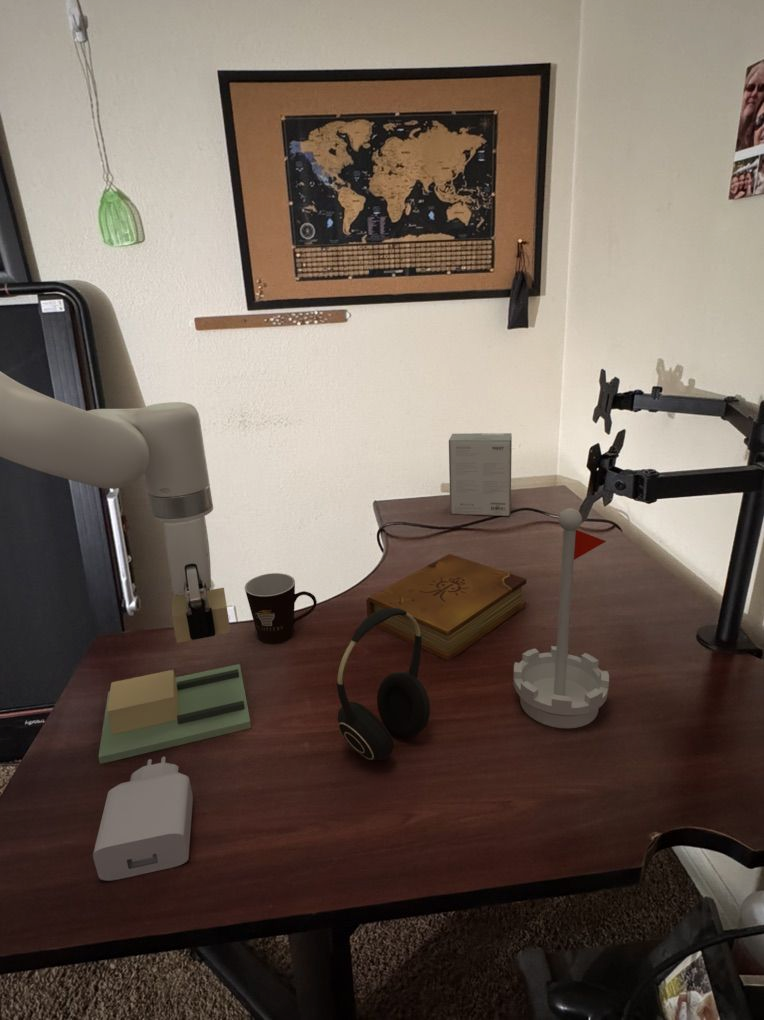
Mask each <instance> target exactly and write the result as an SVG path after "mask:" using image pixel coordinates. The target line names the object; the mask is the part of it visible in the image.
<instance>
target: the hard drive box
mask: <svg viewBox="0 0 764 1020" xmlns="http://www.w3.org/2000/svg"><path fill="white" fill-rule="evenodd" d="M512 436H513V435H512V433H511V432H495V433H493V432H490V433H488V432H485V433H484V432H479V433H478V432H477V433H475V432H474V433H452V434H451V435H450V437H449V439H448V466H449V467H448V468H449V469H448V470H449V514H450V515H464V516H466V515H467V516H468V515H471V516H475V515H476V516H492V517H493V516H494V517H499V516H500V517H510V516H511V512H512V511H511V510H512V452H513V451H512V445H513V444H512V440H513V439H512V438H513V437H512Z"/></svg>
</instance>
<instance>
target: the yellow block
mask: <svg viewBox="0 0 764 1020" xmlns="http://www.w3.org/2000/svg"><path fill="white" fill-rule="evenodd" d="M200 596H201V598H203V593H200ZM207 596H208V603H209V608H212V615H213V621H214V627H215V635H214V636H213V637H217V636H222V635H226V634H231V632H232V631H231V626H230V619H229V612H228V606H227V599H226V598H227V597H226V593H225V587H218V588H214V589H213V588H212V589H210V590H208V591H207ZM203 600H204V598H203ZM186 612H187V606H186V600H185V594H184V593H183V594H178V596H175V595H173V596H172V597H171V619H172V626H173V630H174V635H175V641H176V644H180V643H184V642H185V643H187V642H191V641H193V640H192V639H191V638H190V632H189V627H188V621H187V616H186Z"/></svg>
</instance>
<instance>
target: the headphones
mask: <svg viewBox="0 0 764 1020" xmlns="http://www.w3.org/2000/svg"><path fill="white" fill-rule="evenodd" d="M396 615H403V616H407V617H408V618H410V620H411V621H412V622H413V624H414V626H415V630H416V634H415V643H414V645H413V651H412V657H411V661H410V665H409V669H408V672H404V671H396V672H392V673H390V674H388V675H387V676H386V677H385V678H383V680H382V681H381V683H380V685H379V687H378V688H377V689H378V690H377V694H376V705H377V711H378V715H379V717H380V718H378V716H377V715H375V713H373V712H372V711H371V710H370V709H369V708H368V707H366V706H364V705H363V704H361V703H359V702H356V701H349V699H348V696H347V693H346V687H345V683H344V681H343V676H344V671H345V668H346V664H347V661H348V659H349V656H350V654H351V652H352V650H353V648H354V647H355V645H356V644H357V643H359V642H360V640H361V639H362V638H363V637H364V636H365V635H366V634H367V633H369V632H370V630H372V629H373V628H374V627H375V626H376V625H377V624H379V623H381V622H383V621H385V620H387V619H388V618H390V617H392V616H396ZM421 655H422V648H421V634H420V629H419V626H418V623H417V622H416V620H415V619H414V618H413V617H412V616H411V615H410V614H408V613H407V612H406V611H404V610H402V609H399V608H385V609H381V610H379V611H376V612H374V613H372V614H371V615H370V616H368V617H367V616H366V617H365V619H364V620H363V621H362V622H361V623H360V624H359V626H358V627H357V628H356V630H355V631H354V633H353V635H352V636H351V638H350V642H349V643H348V646H347V647H346V649H345V651H344V653H343V656H342V658H341V661H340V664H339V667H338V671H337V681H336V689H337V694H338V698H339V701H340V704H341V707H340V708H339V709H338V712H337V723H338V724H337V727H338V730H339V732H340V734H341V735H342V737H343V738H344V739H345V741H346V742H347V743H348V745H349V746H351V748H352V749H353V750H355V751H356V752H357V754H359V755H361V756H362V757H363V758H365V759H367V760H369V761H370V760H371V761H372V760H374V761H383V760H387V758H388V757H390V756H391V754H393V750H394V748H395V747H394V739H393V737H392V735H393V734H394V735H395V736H398V737H401V738H411V737H414V736H417V735H418V734H420V733H422V731H424V729H425V728H426V726H427V725H428V723H429V719H430V716H431V714H430V713H431V703H430V697H429V695H428V692H427V690H426V687H425V686H424V685H423V683H422V682H421V681H420V680H419V679H418V675H419V669H420V663H421ZM391 733H392V735H391Z"/></svg>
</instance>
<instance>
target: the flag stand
mask: <svg viewBox="0 0 764 1020" xmlns="http://www.w3.org/2000/svg"><path fill="white" fill-rule="evenodd" d="M558 524H559V526H560V528H562V529H563V533H562V534H563V535H562V549H561V550H562V551H561V566H560V583H559V584H560V585H559V599H558V614H557V616H558V617H557V630H556V631H557V632H556V633H557V634H556V645H550V652H541V653H540V652H539V650H538V649H537V648H535V647H534V648H531V649H528V650H526V651H525V652H523V653H522V654H521V661H520V662H516V661H515V662H514V664H513V676H512V678H513V679H512V681H513V688H514V690H515V692H516V693H517V694H518V696H519V703H520V705H521V709H522V710H523V711H524V713H526V715H528V716H529V717H530V718H531V719H533V720H535V721H536V722H538V723H540V724H542V725H545V726H549V727H552V728H556V729H575V728H580V727H584V726H587V725H589V724H590V723H592V722H593V721H594V720H595V719H596V718H597V716H598V714H599V709H600V708H601V707H602V706H603V705H604V704H605V703H606V701H607V699H608V696H609V687H610V675H609V671H608V670H602V669H601V668H600V667H599V665H600V660H599V659H597V658H596V657H594V656H593V655H591V654H589V653H586V652H584V653H583V654H581V655H580V656H577V655H573V654H569V635H570V620H571V619H570V618H571V608H572V607H571V606H572V594H573V593H572V591H573V578H574V577H573V575H574V564H575V563H574V561H575V560H577V559H578V558H580V557H582V556H585V554H587V553H589V552H591V551H592V550H594V549H596V548H598V547H599V546H601V545H603V544H604V543H607V541H606V540H604V539H602V538H600V537H597V536H594V535H591V534H589V533H586V532H583V531H581V530H578V529H579V528H580V527H581V526H582V524H583V517H582V514H581V512H580V511H578V509H575V508H572V507H571V508H564V509H563V510H562V511H561V512H560V514H559V515H558Z"/></svg>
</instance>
